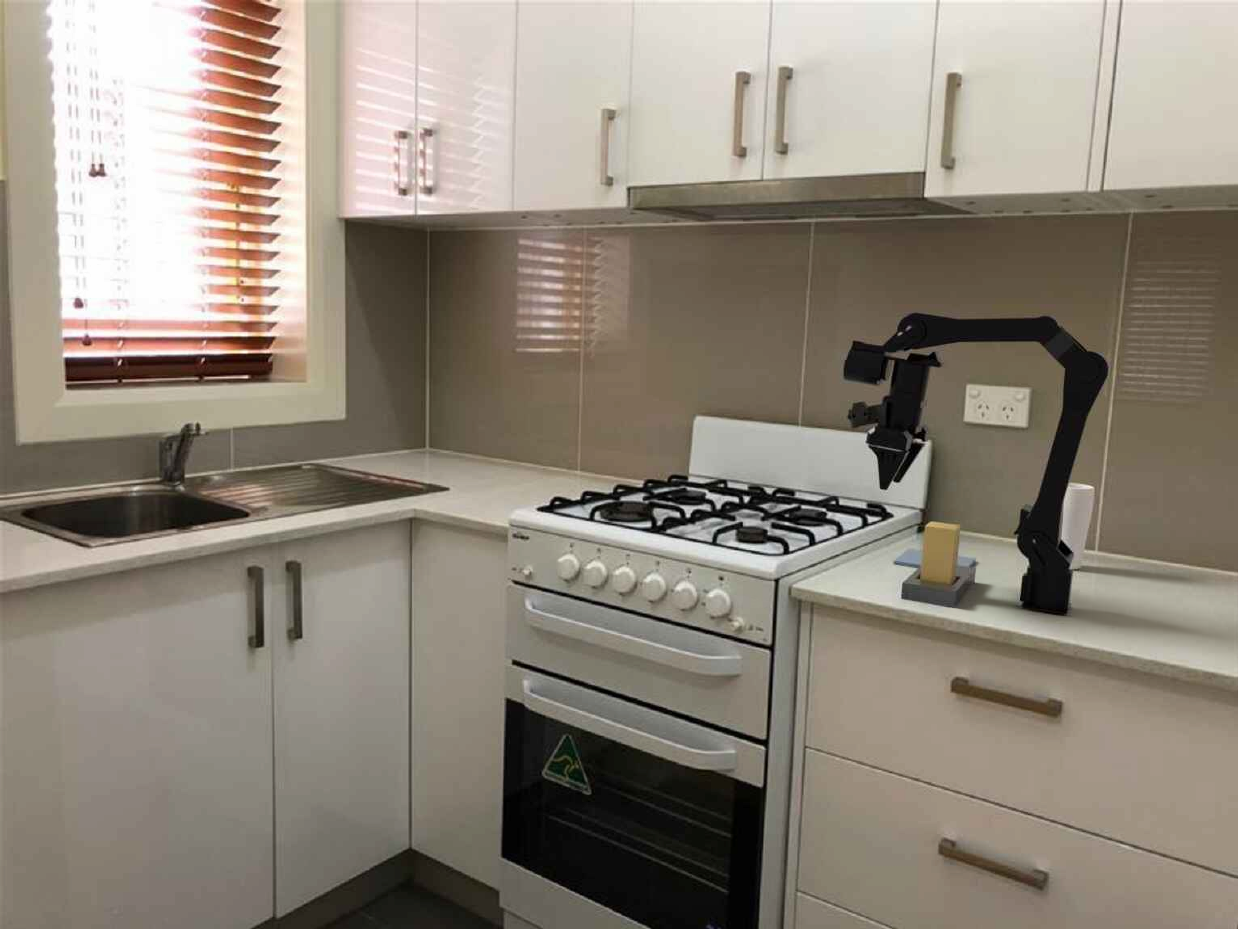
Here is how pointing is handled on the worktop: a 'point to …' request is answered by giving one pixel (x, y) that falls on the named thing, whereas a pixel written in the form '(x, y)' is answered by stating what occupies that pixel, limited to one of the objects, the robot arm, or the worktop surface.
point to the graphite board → (938, 588)
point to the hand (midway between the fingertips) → (889, 485)
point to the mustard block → (940, 552)
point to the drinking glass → (1077, 519)
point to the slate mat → (915, 559)
